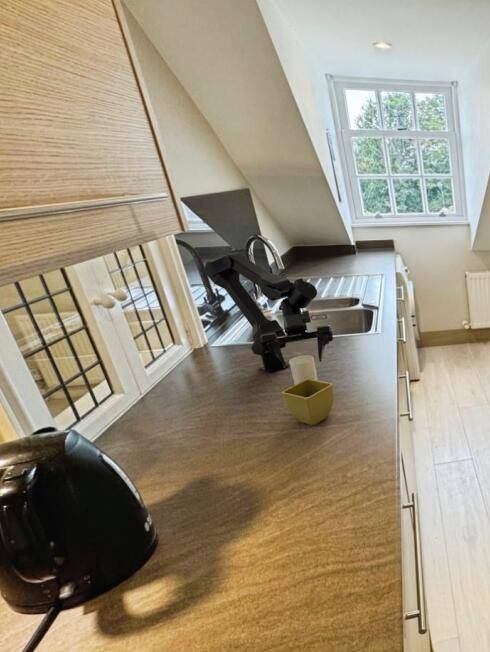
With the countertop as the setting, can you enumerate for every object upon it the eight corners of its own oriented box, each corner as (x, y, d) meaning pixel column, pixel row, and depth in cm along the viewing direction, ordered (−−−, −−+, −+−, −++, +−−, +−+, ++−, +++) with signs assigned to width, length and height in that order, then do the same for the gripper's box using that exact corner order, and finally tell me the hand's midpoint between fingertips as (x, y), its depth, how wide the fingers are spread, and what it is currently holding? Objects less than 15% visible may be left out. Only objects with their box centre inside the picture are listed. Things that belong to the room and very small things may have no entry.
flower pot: (339, 414, 117) (333, 383, 114) (314, 431, 110) (307, 398, 106) (314, 408, 121) (307, 378, 117) (288, 424, 113) (280, 392, 110)
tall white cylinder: (294, 404, 123) (284, 360, 118) (314, 396, 128) (304, 353, 122) (307, 410, 120) (297, 365, 115) (327, 401, 124) (318, 357, 119)
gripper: (252, 306, 121) (261, 358, 117) (325, 297, 128) (336, 346, 123) (260, 326, 131) (268, 375, 126) (327, 317, 138) (338, 362, 133)
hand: (303, 364), depth 127 cm, fingers open, 9 cm apart
